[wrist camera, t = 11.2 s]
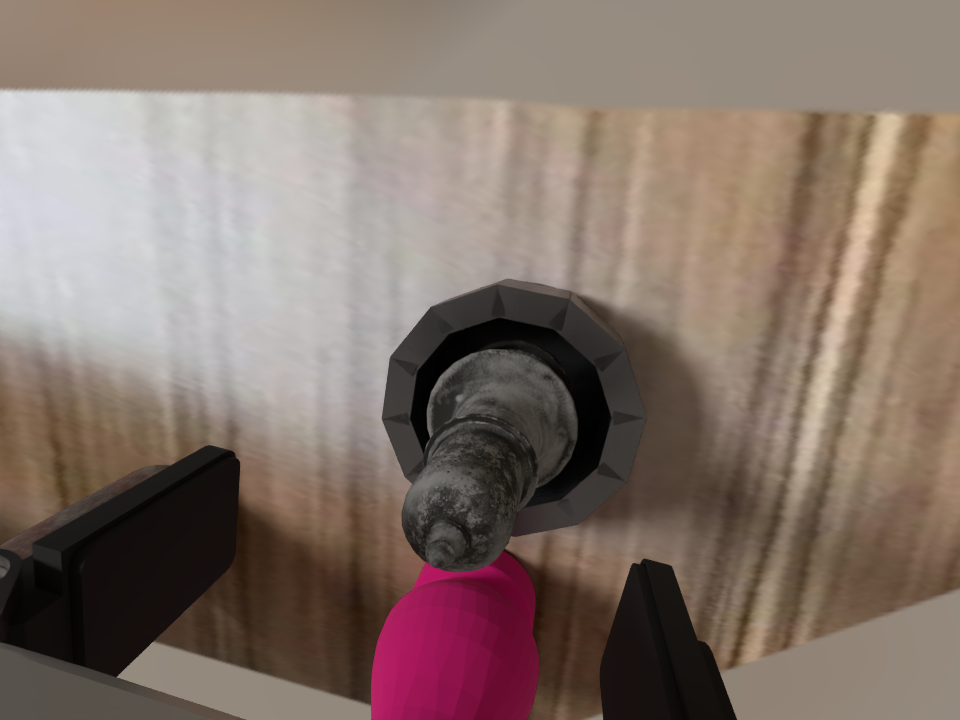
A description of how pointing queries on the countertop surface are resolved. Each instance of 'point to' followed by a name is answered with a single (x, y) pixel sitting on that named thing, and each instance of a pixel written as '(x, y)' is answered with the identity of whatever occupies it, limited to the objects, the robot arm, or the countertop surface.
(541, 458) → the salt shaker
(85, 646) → the robot arm
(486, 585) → the pepper mill
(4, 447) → the countertop surface
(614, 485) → the dark gray faceted bowl
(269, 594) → the countertop surface
